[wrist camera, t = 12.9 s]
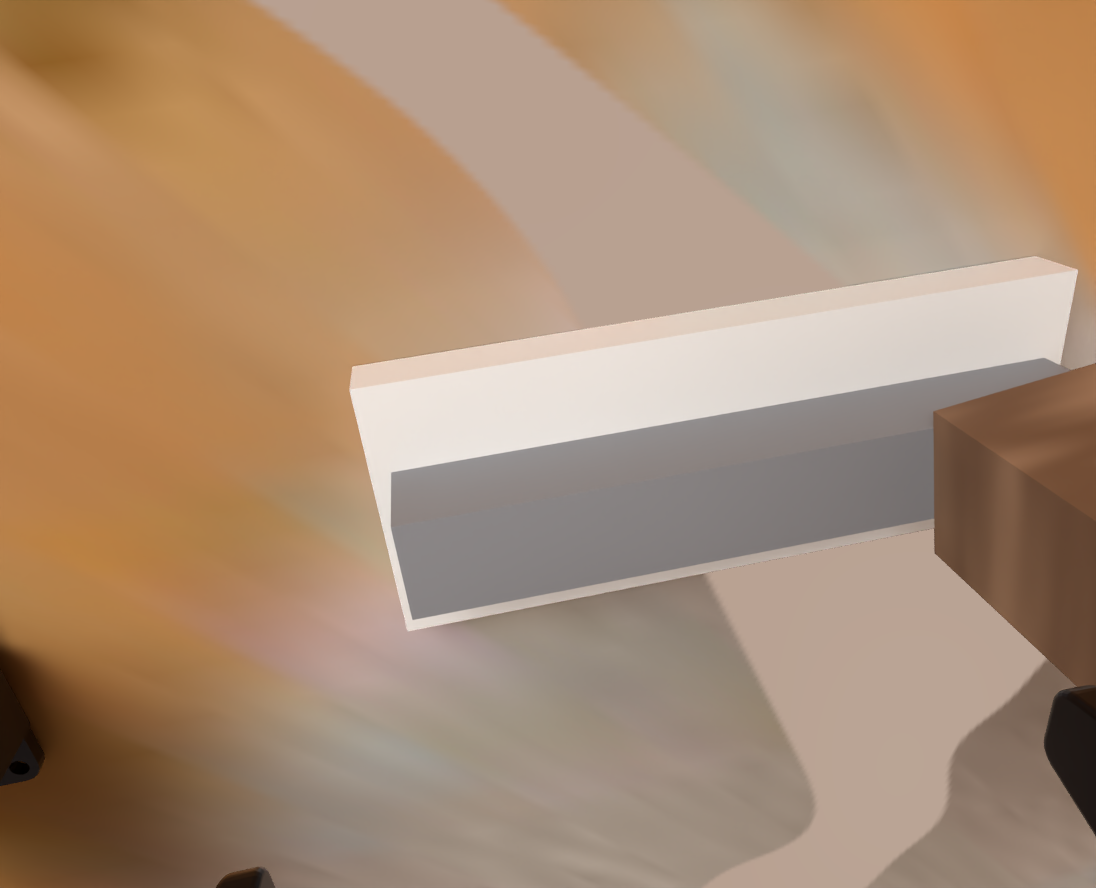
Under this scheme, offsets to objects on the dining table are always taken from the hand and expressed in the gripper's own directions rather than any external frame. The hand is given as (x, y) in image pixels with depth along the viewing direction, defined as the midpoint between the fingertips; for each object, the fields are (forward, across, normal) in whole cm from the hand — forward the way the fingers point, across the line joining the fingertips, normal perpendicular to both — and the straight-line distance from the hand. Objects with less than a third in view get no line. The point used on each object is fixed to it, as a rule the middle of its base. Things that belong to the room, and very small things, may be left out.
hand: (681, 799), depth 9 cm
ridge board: (+13, -5, +2) cm, 14 cm away
